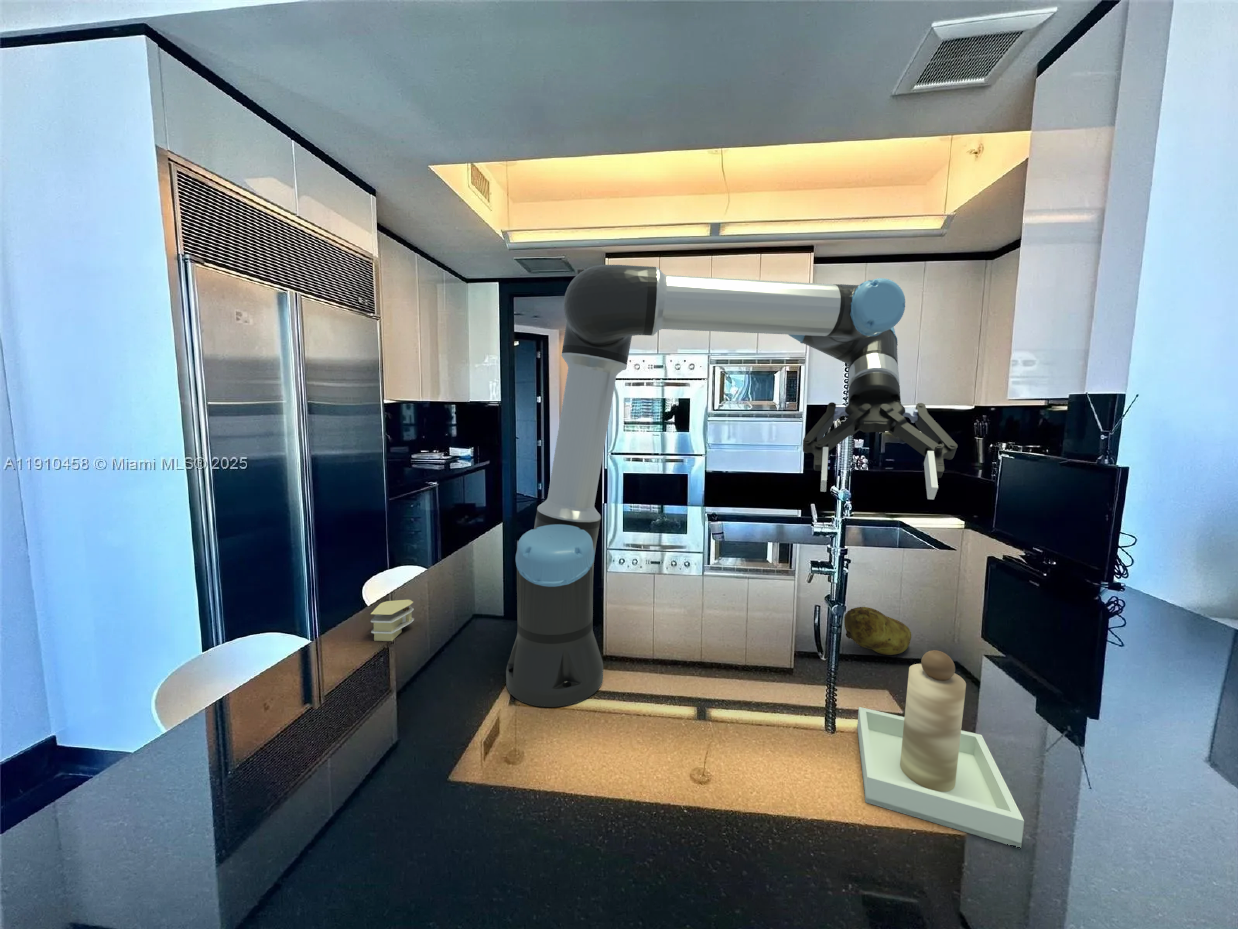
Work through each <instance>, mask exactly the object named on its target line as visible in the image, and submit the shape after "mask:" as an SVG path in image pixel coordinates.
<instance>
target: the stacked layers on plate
mask: <svg viewBox="0 0 1238 929" xmlns="http://www.w3.org/2000/svg"><path fill="white" fill-rule="evenodd" d="M413 603H414V601H412V600H411V599H399V600H398V599H397V600H386V601H383V602H381V603H379V604H378V605H377V606H376V607H375V608H374V609H373V611H372V612H371V613H370V615H374V616H373V618H372V619H371V620H370V623H373V628H372V630H371V631H370V633H371V634H373V635H374V636H373V640H374V642H375V641H377V642H382V641H383V642H393V641H394V640H395V639H396V638H397V637H398V636H399V635H401V633H402V629H403V628H404V627H406V626H408V625H410V624H411V623H413V621H415V618H414V617H412V612H413V611H414V608H413V607H412V606H411V605H412V604H413Z"/></svg>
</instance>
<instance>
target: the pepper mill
mask: <svg viewBox="0 0 1238 929" xmlns="http://www.w3.org/2000/svg"><path fill="white" fill-rule="evenodd" d="M920 661H921V662H920V663H916V664H915V663H913V664H912V665H910V666H909V667H908V676H907V677H908V678H907V686H906V687H907V688H906V696H905V697H906V699H905V709H904V717H905V718H904V728H903V739H902V749H901V760H900V767H901V769H902V771H903V772H904V774H905V775H906V776H907V777H908V778H909V779H911V780H912V781H913V782H915V783H917V784H918V785H920V786H922V787H925V788H927V789H931V790H934V791H939V792H947V791H951V790H952V789H954V787H955V782H956V773H957V763H958V754H959V745H960V736H961V730H962V725H963V715H964V707H965V698H966V690H967V689H966V688H967V683H966V681H965V679H964V678H962V676H961V675H958V674H957V673H955V672H956V665H955V663H954V661H953V659H952V658H951V657H950V656H949V654H947V653H945V652H944V651H941V650H937V649H935V650H933V649H932V650H929V651H926V652H925V653H924V654H923V656H922V657H921V660H920Z"/></svg>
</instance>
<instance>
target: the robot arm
mask: <svg viewBox="0 0 1238 929" xmlns="http://www.w3.org/2000/svg"><path fill="white" fill-rule="evenodd" d="M563 298H564V299H563V312H564V316H565V317H564V318H565V319H566V323H565V330H564V336H563V344H562V347H561V348H562V349H561V350H562V351H561V355H560V356H561V357H562V359H563V360H564V362H565V363H566V365H567V367H568V369H567V373H566V379H565V380H566V381H565V386H564V393H563V399H562V405H561V412H560V418H559V424H558V430H557V436H556V437H557V438H556V443H555V449H554V456H553V462H552V468H551V474H550V481H549V486H548V487H549V488H548V492H547V493H548V494H547V498H546V499H545V500H544V501H543V502H541V504H539V505H538V506H537V508H536V515H535V519H534V527H533V529H532V528H531V529H530V530H528V531H526V532H525V533H523V534H522V535H521V537H519V540H518V542H517V545H516V553H515V565H516V566H515V567H516V593H517V594H516V596H517V597H516V600H517V603H516V611H517V613H516V614H517V615H516V616H517V617H516V618H517V633H516V638H515V641H514V644H513V646H512V650H511V652H510V656H509V658H508V661H507V665H506V670H505V678H506V680H505V681H506V682H505V683H506V688H507V690H508V692H509V694H510V695H511V696H513V698H515V699H517V700H518V701H520V702H522V703H524V704H527V705H530V706H536V707H543V708H553V707H554V708H555V707H564V706H565V707H566V706H569V705H574V704H576V703H579V702H581V701H584V700H586V699H588V698H590V697H591V696H593V695H594V694H595V693H596V692H597V691H598V690H599V689H600V688H601V686H602V684H603V682H604V661H603V658H602V656H601V652H600V649H599V646H598V642H597V639H596V637H595V636H596V635H595V634H594V631H593V623H594V622H593V619H594V618H593V617H594V614H593V613H594V610H593V609H594V608H593V607H594V567H595V566H594V565H595V564H594V563H595V555H596V548H597V541H598V536H599V531H600V530H599V529H600V525H601V524H600V523H601V519H602V516H601V514H600V513H599V512H598V510H597V509H596V507H595V505H596V504H595V503H596V498H597V493H598V492H597V491H598V486H599V480H600V474H601V470H602V463H603V457H604V450H605V445H606V440H607V434H608V433H607V432H608V428H609V421H610V415H611V410H612V409H611V408H612V405H613V404H612V403H613V397H614V391H615V386H616V379H617V376H618V374H620V373H621V372H623V371H624V370H626V368H627V366H628V361H629V360H628V359H629V355H630V350H631V343H632V337H633V336H634V337H635V336H651V337H653V336H654V335H656V334H657V333H658V332H659V331H661V330H672V331H674V330H676V331H678V330H679V331H695V332H696V331H697V332H698V331H699V332H700V331H701V332H717V333H719V332H720V333H721V332H722V333H723V332H724V333H742V334H745V333H747V334H766V335H788V336H789V337H791V338H793V339H794V340H796V341H798V342H800V344H803V345H805V346H808V347H810V348H813V349H814V350H817V351H819V352H821V353H824V354H825V355H828V356H829V357H833V359H836V360H838V361H840V362H843V363H845V364H847V365H848V392H847V394H848V395H847V399H848V401H847V404H846V407H844V406H837V404H836V403H835V402H829V403H828V404H827V408H826V412H825V413H824V414H823V415H822V416H821V418H820V419H819V420H818V421H817V423H815V425H814V426H813V427H812V428H811V429H810V431H808V433H807V434H806V435H805V437H804V438H803V439H802V452H803V453H804V454H809V453H811V454H812V455H813V456H814V457H813V469H814V471H816V472H821V473H820V492H823V493H825V492H827V482H828V481H827V480H828V465H829V464H828V463H829V461H828V460H829V451H831V450H832V449H834V448H835V447H836V446H837V445H839V444H841V442H843V441H845V440H846V439H847V438H848V437H850V436H854V435H855V434H856V433H858V432H859V431H861V432H862V433H879V434H885V433H886V432H888V433H889V434H890V435H892V436H893V437H895V438H899V439H900V440H902V441H903V442H905V443H906V444H907V445H909V447H911V448H912V449H914V450H915V451H917V452H918V453H919V454H921V455H922V456H923V457H924V461H923V466H924V467H923V468H924V478H925V489H926V498H927V500H935V497H936V495H937V492H938V490H939V485H938V484H939V483H938V479H941V478H942V476H943V473H944V471H945V464H944V463H945V462H944V459H945V460H949V461H950V460H953V458H954V457H955V454H956V451H957V448H958V444H957V443H956V442H955V440H953V439H952V437H951V436H950V435H949V434H948V433H947V432H946V431H945V430H944V428H942V427H941V425H940V424H939V423H938V422H936V420H934V418H933V417H932V416H931V415H930V414H929V412H928V410H927V407H926V404H924V403H922V402H919V403H918V402H917V403H916V404H915V407H905V406H904V405H903V404H902V401H901V387H900V386H901V385H900V374H899V363H898V362H899V360H898V358H899V357H898V341H899V340H898V337H897V335H896V331H895V330H896V329H895V327H896V325H898V324H899V323H900V321H901V319H902V318H903V316H904V313H905V310H906V297H905V293H904V291H903V289H902V288H901V286H900V285H899V284H898V283H896V282H895V281H894V280H891V279H889V278H884V277H880V278H875V279H868V280H866V281H863V282H861V283H860V284H844V283H843V284H840V283H839V284H835V283H833V284H832V283H817V282H816V283H815V282H799V281H798V282H797V281H782V280H780V281H779V280H761V279H745V278H743V279H742V278H724V277H710V276H709V277H708V276H707V277H706V276H690V275H688V276H687V275H672V274H671V275H669V274H664V273H663V272H662V270H661V269H660V268H659V266H647V265H646V266H645V265H644V266H643V265H627V264H599V265H593V266H590V267H588V268H586V269H583V271H581V272H579V273H578V274H576V276H574V277H573V279H572V280H571V281H570V283H569V285H568V286H567V288H566V291H565V293H564V297H563ZM843 416H844V417H845V419H844V421H843V422H840V424H839V425H838V426H836V427H835V428H833V429H832V430H830V429H831V427H832V426H833V424H834V422H838V420H839V419H841V417H843ZM906 418H909V420H910V423H909V422H908V420H907V419H906ZM911 423H913V424H914V423H915V426H916V427H915V426H914V425H912V424H911ZM829 430H830V431H829ZM827 432H828V433H827ZM826 433H827V434H826Z"/></svg>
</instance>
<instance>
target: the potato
mask: <svg viewBox="0 0 1238 929" xmlns="http://www.w3.org/2000/svg"><path fill="white" fill-rule="evenodd" d="M843 618H844V620H843V621H844V629H845V637H846V638H848V639H850V640H852V641H853V642H854V643H855V644H856V645H858V646H859V647H861V648H865V649H869V650H872V651H874V652H876V653H878V654H881V655H887V656H894V655H898V654H902V653H903V652H905V651H906V650H907V649H909V646H910V644H911V639H912V632H911V629H910V628H909V627H908V626H907V625H906V624H905V623H903V622H902V621H900V620H898V619H895V618H893V617H889V616H887V615H885V614H884V613H882V612H881V611H879V610H878V609H874V608H872V607H868V606H858V607H854V608H851V609H849V610H847V611H846V613H845V615H844V617H843Z"/></svg>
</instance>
